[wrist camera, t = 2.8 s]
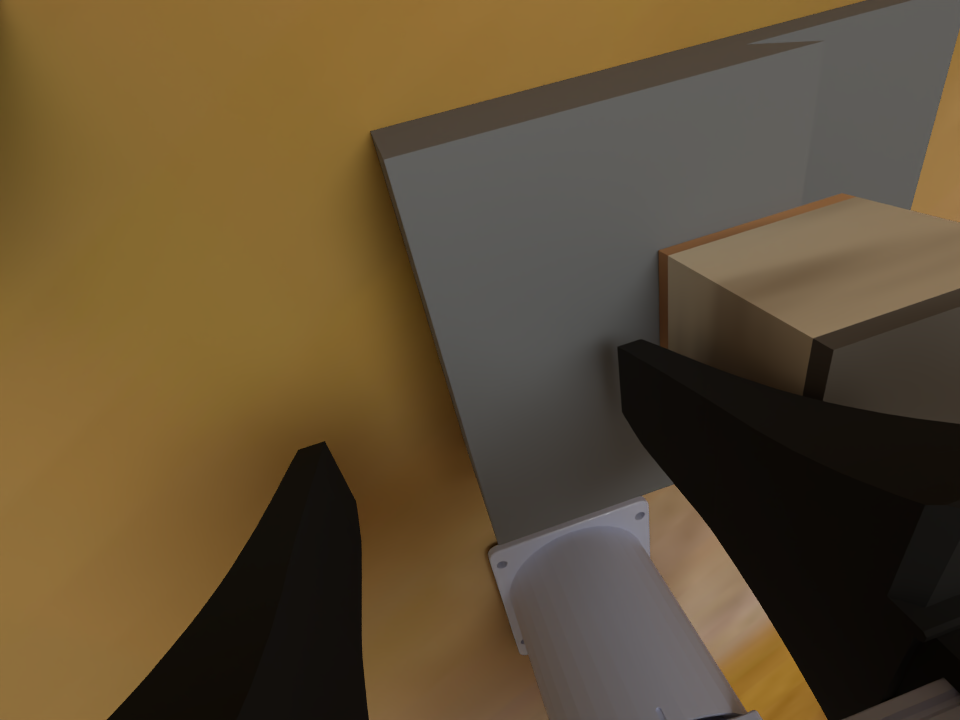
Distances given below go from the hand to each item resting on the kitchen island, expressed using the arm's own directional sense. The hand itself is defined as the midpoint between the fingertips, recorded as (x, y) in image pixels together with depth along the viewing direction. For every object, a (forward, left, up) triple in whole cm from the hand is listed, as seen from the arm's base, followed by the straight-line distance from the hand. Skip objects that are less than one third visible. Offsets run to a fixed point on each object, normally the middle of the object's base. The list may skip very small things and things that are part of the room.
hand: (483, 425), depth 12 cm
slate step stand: (0, -8, -6) cm, 10 cm away
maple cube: (0, -8, -1) cm, 8 cm away
